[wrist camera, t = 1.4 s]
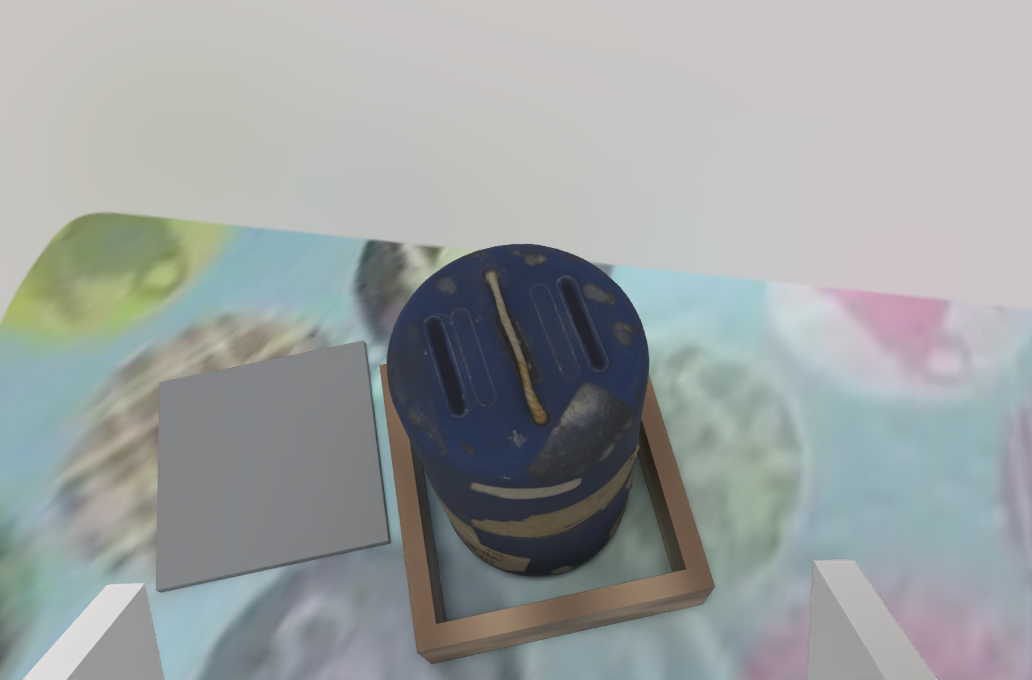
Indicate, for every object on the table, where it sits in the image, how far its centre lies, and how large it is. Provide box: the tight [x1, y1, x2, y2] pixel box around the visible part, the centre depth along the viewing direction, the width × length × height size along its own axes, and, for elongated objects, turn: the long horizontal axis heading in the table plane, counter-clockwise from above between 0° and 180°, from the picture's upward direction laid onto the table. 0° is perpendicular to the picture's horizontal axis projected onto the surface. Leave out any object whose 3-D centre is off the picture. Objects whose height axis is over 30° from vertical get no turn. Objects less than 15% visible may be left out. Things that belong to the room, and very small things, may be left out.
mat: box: [156, 341, 390, 592], centre depth 45 cm, size 12×12×1 cm
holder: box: [380, 364, 715, 664], centre depth 41 cm, size 14×14×4 cm
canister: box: [387, 244, 649, 576], centre depth 35 cm, size 10×10×18 cm
